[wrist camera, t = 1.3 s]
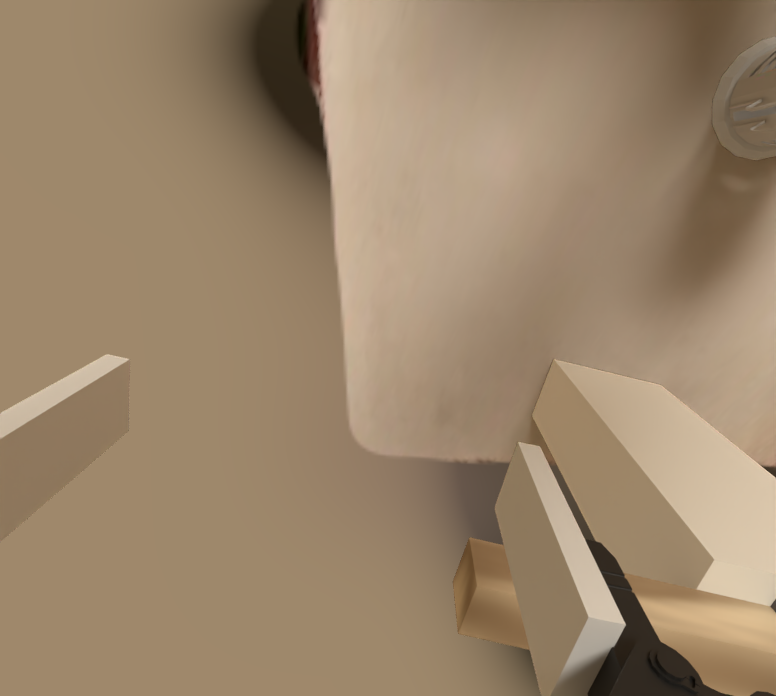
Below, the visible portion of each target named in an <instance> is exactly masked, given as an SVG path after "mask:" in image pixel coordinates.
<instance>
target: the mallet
mask: <svg viewBox="0 0 776 696" xmlns="http://www.w3.org/2000/svg"><path fill="white" fill-rule="evenodd" d="M624 575H625V578H626V579H627V580H628V582H629V584H630V586H631V588H632V592H634V593H635V595H636V597H637V599H638V601H639V602H640V604H641V606H642V608H643V610H644V612H645V614H646V615H647V617H648V619H649V621H650V623H651V625H652V627H653V628H654V630H655V632H656V634H657V636H658V638H659V640H660V641H661V642H662V643H664V644H666V645H667V646H669V647H671V648H673V649H674V650H676V651H677V652H678V653H679V654H681V655H682V656H683V657H684V658H685V659H687V660H688V661H689V663H690V664H691V665H692V666H693V667H694V669H695V670H696V671H697V672H698V674H699V676H700V678H701V680H702V682H703V684H705V685H706V686H708V687H710V688H712V689H714V690H716V691H718V692H721V693H725V694H730V695H734V696H750V695H751V694H753V693H754V692H756V691H762V692H769V693H771V694H774V695H776V599H775V601H774V602H773V603H772V605H771V606H766V605H762V604H758V603H753V602H749V601H745V600H740V599H736V598H732V597H727V596H723V595H718V594H714V593H710V592H705V591H701V590H697V589H692V588H688V587H684V586H679V585H675V584H671V583H666V582H662V581H657V580H653V579H649V578H644V577H640V576H636V575H631V574H627V573H624ZM453 587H454V598H455V608H456V618H457V627H458V634H461V635H466V636H470V637H475V638H479V639H483V640H488V641H493V642H497V643H501V644H506V645H510V646H515V647H520V648H524V649H528V650H530V648H529V644H528V640H527V636H526V632H525V628H524V624H523V620H522V616H521V612H520V608H519V604H518V600H517V596H516V592H515V588H514V584H513V580H512V576H511V572H510V568H509V564H508V560H507V556H506V552H505V548H504V545H501V544H496V543H492V542H487V541H483V540H479V539H474V538H469V540H468V542H467V545H466V548H465V550H464V553H463V556H462V558H461V561H460V564H459V567H458V569H457V572H456V575H455V577H454V580H453Z"/></svg>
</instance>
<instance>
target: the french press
mask: <svg viewBox="0 0 776 696" xmlns="http://www.w3.org/2000/svg"><path fill="white" fill-rule="evenodd" d="M712 125H713V128H714V130H715V132H716V135H717V137H718V139H719V142H720V144H721V145H723V146H724V147H725V148H726V149H728V150H729V151H730V152H731V153H733V154H734V155H735V156H738V157H742V158H747V159H752V160H760V159H765V158H770V157H774V156H776V36H775V37H771V38H767V39H763V40H761V41H759V42H758V43H756V44H755V45H753V46H752V47H750V48H749V49H747V50H746V51H744V52H743V53H741V54H740V55H739V56H738V57H737V58H736V59H735V61H734V62H733V63H732V64H731V66H730V67H729V68H728V69H727V71H726V72H725V73H724V74H723V76H722V77H721V80H720V82H719V85H718V88H717V90H716V93H715V96H714V98H713V101H712Z"/></svg>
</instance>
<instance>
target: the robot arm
mask: <svg viewBox="0 0 776 696" xmlns="http://www.w3.org/2000/svg"><path fill="white" fill-rule="evenodd" d="M129 380H130V359H126V358H122V357H117V356H112V355H108V354H106V355H105V356H103V357H101V358H99V359H97V360H96V361H94V362H92V363H90V364H88V365H87V366H85V367H83V368H81V369H79V370H78V371H76V372H74V373H72V374H70V375H68V376H67V377H65V378H63V379H61V380H59V381H58V382H56V383H54V384H52V385H50V386H49V387H47V388H45V389H43V390H42V391H40V392H38V393H36V394H34V395H32V396H30V397H29V398H27V399H25V400H23V401H21V402H20V403H18V404H16V405H14V406H12V407H11V408H9V409H7V410H5V411H3V412H2V413H0V542H1V541H2V540H3V539H4V538H5V537H7V536H8V535H9V534H10V533H11V532H13V531H14V530H15V529H16V528H17V527H18V526H19V525H20V524H22V523H23V522H24V521H25V520H26V519H28V518H29V517H30V516H31V515H32V514H33V513H34V512H36V511H37V510H38V509H39V508H40V507H41V506H43V505H44V504H45V503H46V502H47V501H48V500H50V499H51V497H53V496H54V495H55V494H56V493H58V492H59V491H60V490H61V489H62V488H63V487H65V486H66V485H67V484H68V483H69V482H70V481H72V480H73V479H74V478H75V477H76V476H77V475H78V474H80V473H81V472H82V471H83V470H84V469H85V468H87V467H88V466H89V465H90V464H91V463H92V462H93V461H95V460H96V459H97V458H98V457H99V456H100V455H102V454H103V453H104V452H105V451H106V450H107V449H109V448H110V447H111V446H112V445H113V444H114V443H115V442H117V441H118V440H119V439H120V438H121V437H122V436H124V435H125V434H126V433H127V432H128V431H129ZM495 512H496V516H497V520H498V524H499V528H500V532H501V536H502V540H503V544H504V548H505V552H506V556H507V560H508V564H509V568H510V572H511V576H512V580H513V584H514V588H515V592H516V596H517V600H518V604H519V608H520V612H521V616H522V620H523V624H524V628H525V632H526V636H527V640H528V644H529V648H530V652H531V656H532V660H533V664H534V668H535V672H536V676H537V680H538V684H539V689H540V693H541V696H727V695H724V694H722V693H720V692H718V691H716V690H714V689H712V688H710V687H708V686H706V685H705V684H703V682H702V680H701V678H700V676H699V674H698V672H697V671H696V670H695V669H694V667H693V666H692V665H691V664H690V663H689V661H688V660H687V659H685V658H684V657H683V656H682V655H681V654H679V653H678V652H677V651H676V650H674V649H673V648H671V647H669V646H667V645H666V644H664V643H662V642H661V641H660V640H659V638H658V636H657V634H656V632H655V630H654V628H653V627H652V625H651V623H650V621H649V619H648V617H647V615H646V614H645V612H644V610H643V608H642V606H641V604H640V602H639V601H638V599H637V597H636V595H635V593H634V592H632V588H631V586H630V584H629V582H628V580H627V579H626V578H625V575H624V573H623V571H622V569H621V567H620V565H619V564H618V562H617V560H616V558H615V557H614V556H613V555H612V554H611V553H610V552H609V551H608V550H607V549H606V548H605V547H604V546H603V544H602V543H601V542H596V541H591V540H586V539H584V537H583V535H582V533H581V530H580V528H579V526H578V524H577V522H576V520H575V518H574V516H573V514H572V512H571V510H570V508H569V506H568V503H567V502H566V499H565V497H564V495H563V493H562V491H561V489H560V487H559V485H558V483H557V481H556V479H555V477H554V474H553V473H552V470H551V468H550V466H549V464H548V462H547V460H546V458H545V456H544V454H543V452H542V449H541V447H540V446H536V445H531V444H527V443H522V442H517V445H516V448H515V451H514V454H513V457H512V459H511V462H510V465H509V468H508V471H507V474H506V476H505V479H504V482H503V485H502V488H501V491H500V494H499V496H498V499H497V502H496V505H495ZM750 696H776V695H774V694H771V693H769V692H762V691H756V692H754V693H753V694H751V695H750Z"/></svg>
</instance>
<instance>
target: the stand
mask: <svg viewBox="0 0 776 696" xmlns="http://www.w3.org/2000/svg"><path fill="white" fill-rule="evenodd" d="M532 417H533V419H534V421H535V423H536V425H537V427H538V429H539V431H540V433H541V435H542V437H543V439H544V440H545V442H546V444H547V446H548V448H549V450H550V452H551V454H552V456H553V458H554V460H555V462H556V464H557V466H558V468H559V470H560V472H561V474H562V476H563V478H564V480H565V481H566V483H567V486H568V488H569V489H570V491H571V493H572V495H573V497H574V499H575V501H576V503H577V505H578V507H579V509H580V511H581V513H582V515H583V517H584V519H585V521H586V523H587V525H588V527H589V529H590V531H591V533H592V535H593V537H594V538H595V540H596V542H601V543H602V544H603V546H604V547H605V548H606V549H607V550H608V551H609V552H610V553H611V554H612V555H613V556H614V557H615V558H616V560H617V562H618V564H619V565H620V567H621V569H622V571H623V573H627V574H631V575H636V576H640V577H644V578H649V579H653V580H657V581H662V582H666V583H671V584H675V585H679V586H684V587H688V588H692V589H697V590H701V591H705V592H710V593H714V594H718V595H723V596H727V597H732V598H736V599H740V600H745V601H749V602H753V603H758V604H762V605H766V606H771V605H772V603H773V602H774V601H775V599H776V478H775V477H774V476H773V475H771V474H770V473H769V472H768V471H766V470H765V469H764V468H763V467H761V466H760V465H759V464H758V463H757V462H755V461H754V460H753V459H752V458H750V457H749V456H748V455H747V454H745V453H744V452H743V451H742V450H740V449H739V448H738V447H737V446H736V445H734V444H733V443H732V442H731V441H729V440H728V439H727V438H726V437H724V436H723V435H722V434H721V433H720V432H718V431H717V430H716V429H715V428H713V427H712V426H711V425H710V424H708V423H707V422H706V421H705V420H704V419H702V418H701V417H700V416H699V415H697V414H696V413H695V412H694V411H692V410H691V409H690V408H689V407H687V406H686V405H685V404H684V403H683V402H681V401H680V400H679V399H678V398H676V397H675V396H674V395H673V394H671V393H670V392H669V391H668V390H667V389H665V388H664V387H663V386H662V385H659V384H655V383H651V382H647V381H643V380H639V379H635V378H630V377H626V376H622V375H618V374H614V373H610V372H606V371H601V370H597V369H593V368H589V367H585V366H581V365H577V364H573V363H568V362H564V361H560V360H556V359H553V362H552V364H551V367H550V370H549V372H548V375H547V377H546V380H545V382H544V385H543V388H542V390H541V393H540V395H539V398H538V401H537V403H536V406H535V408H534V411H533V413H532Z"/></svg>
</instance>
